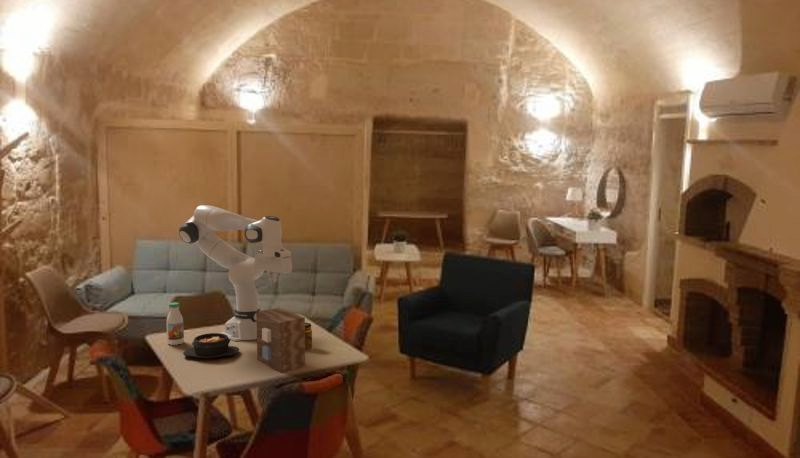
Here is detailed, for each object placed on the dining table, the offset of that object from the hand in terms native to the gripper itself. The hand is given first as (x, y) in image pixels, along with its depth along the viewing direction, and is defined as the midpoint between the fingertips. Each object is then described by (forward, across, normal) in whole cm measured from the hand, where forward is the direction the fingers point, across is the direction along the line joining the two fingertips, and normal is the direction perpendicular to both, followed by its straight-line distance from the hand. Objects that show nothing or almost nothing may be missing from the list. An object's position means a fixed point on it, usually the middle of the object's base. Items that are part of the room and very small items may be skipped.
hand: (273, 281), depth 289 cm
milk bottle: (+34, -50, -15) cm, 63 cm away
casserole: (+34, -22, -18) cm, 45 cm away
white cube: (+23, +10, -14) cm, 28 cm away
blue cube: (+31, +10, -14) cm, 35 cm away
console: (+34, +12, -9) cm, 37 cm away
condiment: (+34, +8, +12) cm, 37 cm away
